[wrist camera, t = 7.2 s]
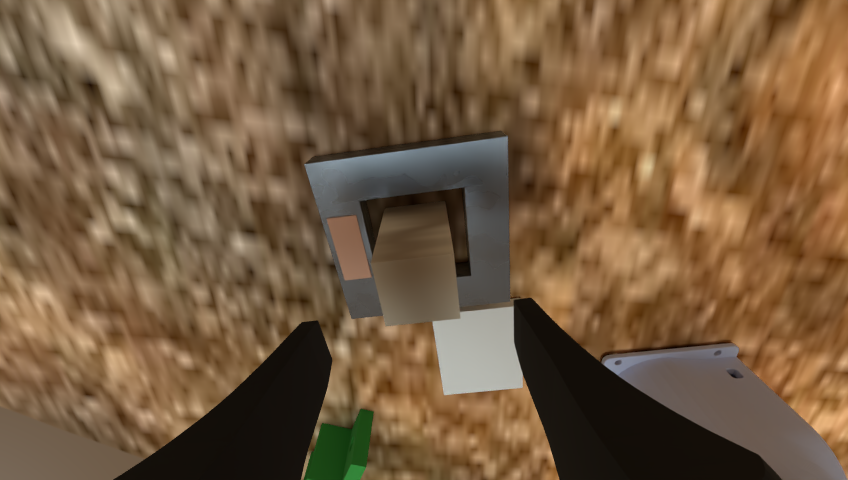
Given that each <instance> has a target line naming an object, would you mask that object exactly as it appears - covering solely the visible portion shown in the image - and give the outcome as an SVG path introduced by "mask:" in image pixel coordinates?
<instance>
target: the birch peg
mask: <svg viewBox="0 0 848 480" xmlns="http://www.w3.org/2000/svg"><path fill="white" fill-rule="evenodd" d="M371 267H372V271H373V275H374V279H375V283H376V287H377V292H378V296H379V300H380V304H381V308H382V312H383V316H384V321H385V325H386V326H393V325H403V324H413V323H422V322H432V321H442V320H452V319H461V318H460V309H459V299H458V289H457V279H456V269H455V259H454V251H453V245H452V239H451V233H450V227H449V221H448V215H447V209H446V203H445V201H439V202H431V203H423V204H415V205H407V206H399V207H391V208H385V210H384V214H383V217H382V221H381V225H380V229H379V233H378V237H377V241H376V244H375V248H374V252H373V256H372V260H371Z"/></svg>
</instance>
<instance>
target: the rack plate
mask: <svg viewBox="0 0 848 480" xmlns="http://www.w3.org/2000/svg"><path fill="white" fill-rule="evenodd" d="M304 165H305V168H306V171H307V175H308V178H309V181H310V184H311V188H312V191H313V194H314V197H315V201H316V204H317V207H318V210H319V214H320V217H321V220H322V223H323V227H324V230H325V233H326V237H327V240H328V243H329V246H330V250H331V253H332V256H333V259H334V263H335V266H336V269H337V272H338V276H339V279H340V282H341V285H342V289H343V292H344V295H345V299H346V302H347V305H348V308H349V312H350V315H351V318H352V319H355V318H364V317H373V316H383V312H382V308H381V304H380V300H379V296H378V292H377V287H376V283H375V279H374V275H373V271H372V267H371V260H372V256H373V252H374V248H375V244H376V243H375V238H374V234H373V230H372V225H371V221H370V217H369V212H368V208H367V204H366V200H370V199H377V198H385V197H393V196H401V195H408V194H416V193H424V192H432V191H440V190H447V189H455V188H462V194H463V206H464V218H465V230H466V242H467V254H468V262H467V263H459V264H455V269H456V279H457V289H458V299H459V307H466V306H475V305H485V304H494V303H503V302H510V258H509V188H508V136H507V135H505V134H504V133H503V132H502V131H497V132H489V133H482V134H475V135H468V136H460V137H453V138H446V139H439V140H431V141H424V142H417V143H410V144H402V145H395V146H388V147H381V148H373V149H366V150H359V151H352V152H344V153H337V154H330V155H323V156H315V157H312V158H311V159H310V160H309V161H308V162H306V163H305V164H304Z"/></svg>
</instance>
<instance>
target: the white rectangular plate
mask: <svg viewBox="0 0 848 480" xmlns="http://www.w3.org/2000/svg"><path fill="white" fill-rule="evenodd" d="M515 299H520V298H513V299H510V302H503V303H494V304H485V305H475V306H466V307H459V309H460V318H461V319H452V320H442V321H432V322H433V328H434V334H435V340H436V347H437V353H438V359H439V366H440V372H441V378H442V385H443V391H444V395H449V394H460V393H471V392H481V391H492V390H503V389H514V388H523V373H522V370H521V367H520V363H519V360H518V356H517V352H516V348H515V344H514V300H515Z"/></svg>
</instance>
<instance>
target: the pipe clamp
mask: <svg viewBox="0 0 848 480" xmlns="http://www.w3.org/2000/svg"><path fill="white" fill-rule="evenodd" d="M373 413H374V412H373V411H368V410H364V409H360V412H359V414H358V416H357V419H356V421H355V423H354V425H353V428H352V429H348V428H343V427H338V426H334V425H329V424H324V423H322V425H321V428H320V432H319V435H318V439H317V443H316V446H315V450H314V452H312V453H311V456H310V459H309V463H308V466H307V470H306V473H305V477H304V480H360V478H361V476H362V474H363V472H364V470H365V468H366V465H367V457H368V450H369V442H370V435H371V428H372V420H373Z"/></svg>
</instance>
